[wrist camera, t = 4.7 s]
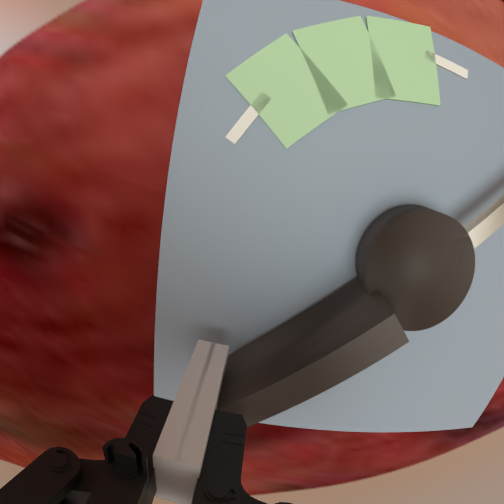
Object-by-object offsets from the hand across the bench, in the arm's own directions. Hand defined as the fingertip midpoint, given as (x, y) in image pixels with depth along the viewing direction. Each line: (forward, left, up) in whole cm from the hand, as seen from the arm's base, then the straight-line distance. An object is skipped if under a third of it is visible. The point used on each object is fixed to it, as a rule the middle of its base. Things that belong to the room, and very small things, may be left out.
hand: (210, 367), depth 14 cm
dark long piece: (+8, +6, -2) cm, 10 cm away
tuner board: (+8, +6, -3) cm, 10 cm away
